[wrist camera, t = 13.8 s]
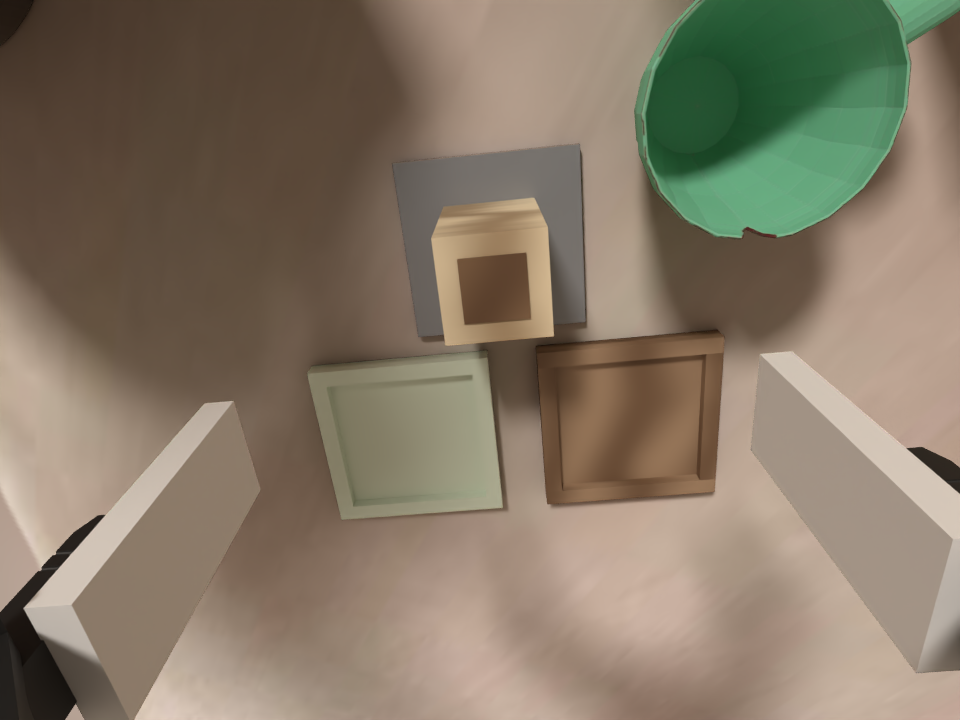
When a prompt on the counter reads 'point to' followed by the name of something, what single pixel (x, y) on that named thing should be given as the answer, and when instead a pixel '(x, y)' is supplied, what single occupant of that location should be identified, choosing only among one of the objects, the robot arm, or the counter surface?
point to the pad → (490, 180)
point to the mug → (776, 107)
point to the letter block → (493, 272)
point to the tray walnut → (630, 416)
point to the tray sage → (409, 434)
